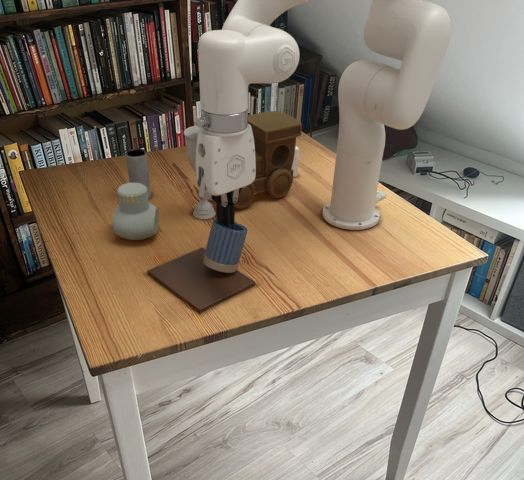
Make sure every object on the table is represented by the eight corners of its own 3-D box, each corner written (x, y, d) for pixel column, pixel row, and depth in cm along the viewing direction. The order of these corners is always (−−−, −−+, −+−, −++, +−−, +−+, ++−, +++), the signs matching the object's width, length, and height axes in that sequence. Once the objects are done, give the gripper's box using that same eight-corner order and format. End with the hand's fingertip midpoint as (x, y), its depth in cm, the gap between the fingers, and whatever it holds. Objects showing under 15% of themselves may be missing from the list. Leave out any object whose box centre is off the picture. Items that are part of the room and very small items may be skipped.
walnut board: (202, 250, 113) (202, 247, 113) (255, 285, 104) (255, 281, 104) (147, 274, 106) (147, 270, 106) (199, 313, 98) (199, 309, 97)
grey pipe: (153, 198, 129) (148, 155, 123) (133, 201, 128) (127, 157, 121) (148, 190, 133) (143, 147, 126) (129, 193, 131) (123, 149, 124)
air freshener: (122, 220, 122) (115, 176, 115) (160, 220, 122) (156, 176, 115) (113, 246, 113) (105, 200, 107) (154, 247, 114) (149, 201, 107)
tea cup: (228, 217, 107) (205, 219, 101) (254, 231, 104) (233, 233, 99) (217, 256, 110) (195, 260, 105) (243, 270, 107) (221, 274, 102)
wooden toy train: (272, 177, 140) (275, 107, 129) (300, 194, 133) (305, 123, 122) (202, 195, 131) (198, 123, 120) (227, 215, 124) (226, 140, 113)
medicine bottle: (262, 168, 144) (263, 120, 136) (288, 165, 145) (291, 117, 138) (270, 179, 139) (272, 130, 131) (297, 176, 140) (301, 128, 132)
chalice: (214, 223, 122) (212, 140, 110) (184, 219, 123) (178, 136, 111) (223, 207, 127) (221, 127, 115) (194, 204, 128) (189, 124, 116)
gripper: (201, 136, 84) (205, 244, 96) (274, 116, 92) (269, 217, 104) (172, 122, 88) (179, 227, 100) (244, 104, 96) (243, 203, 108)
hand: (225, 222), depth 102 cm, fingers closed
